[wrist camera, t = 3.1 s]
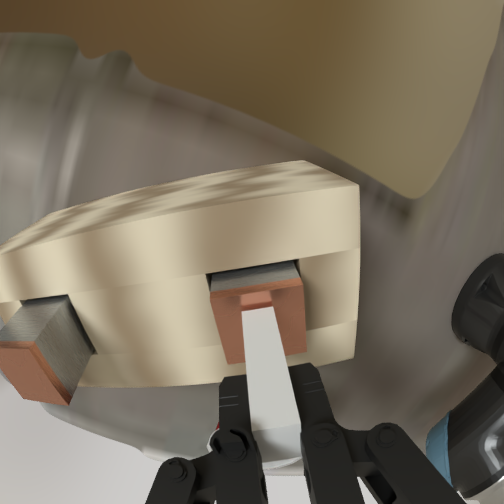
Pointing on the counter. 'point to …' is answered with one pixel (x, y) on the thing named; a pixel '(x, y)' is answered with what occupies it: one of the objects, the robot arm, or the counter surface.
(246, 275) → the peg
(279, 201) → the collar block
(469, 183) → the counter surface
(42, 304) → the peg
